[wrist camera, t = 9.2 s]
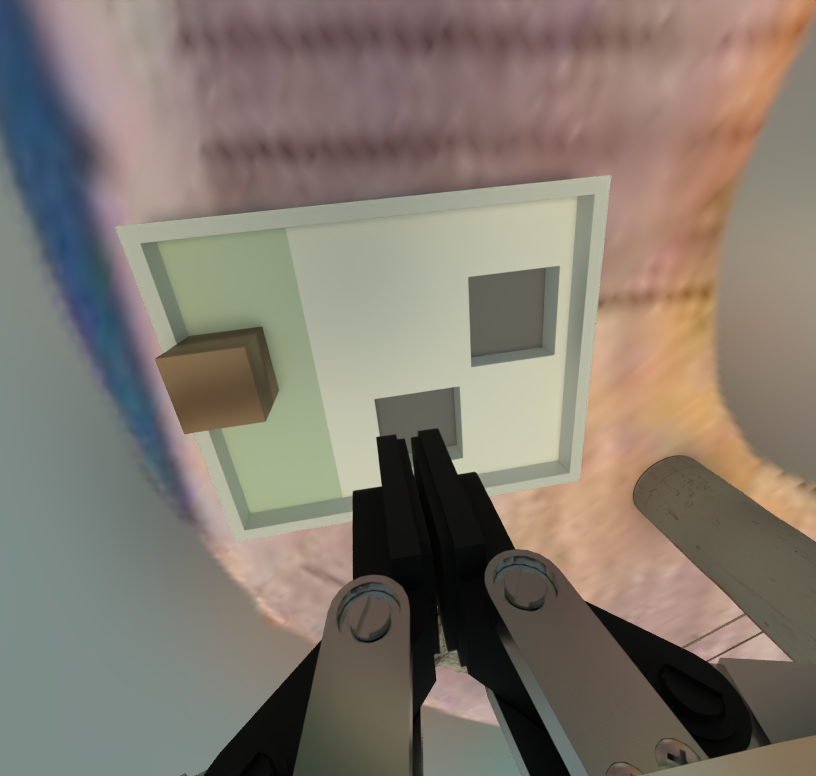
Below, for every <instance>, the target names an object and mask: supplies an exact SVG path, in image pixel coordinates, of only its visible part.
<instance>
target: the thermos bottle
mask: <svg viewBox="0 0 816 776" xmlns="http://www.w3.org/2000/svg"><path fill="white" fill-rule="evenodd" d="M633 496H634V503H635V506H636V507H637V508H638V510H639V511H640V512H641V513H642V514H643V515H644V516H645V517H646V518H647V519H648V520H649V521H650V522H652V523H653V524H654V525H655V526H656V527H657V528H658V529H659V530H660V531H661V532H662V533H663V534H664V535H665V536H666V537H667V538H668V539H669V540H670V541H671V542H672V543H673V544H674V545H675V546H676V547H677V548H678V549H679V550H680V551H681V552H682V553H683V554H684V555H685V556H686V557H687V558H688V559H689V560H690V561H691V562H692V563H693V564H694V565H695V566H696V567H697V568H698V569H700V570H701V571H702V572H703V573H704V574H705V575H706V576H707V577H708V578H709V579H710V580H711V581H713V582H714V583H715V584H716V585H717V586H718V587H719V588H720V589H721V590H722V591H723V592H724V593H725V594H726V595H727V596H728V597H729V598H730V599H731V600H732V601H733V602H734V603H735V604H736V605H737V606H738V607H739V608H740V609H741V610H742V611H743V612H744V613H745V614H746V615H747V616H748V617H749V618H750V619H751V620H752V621H753V622H754V623H755V624H756V625H757V626H758V627H759V628H760V629H761V630H762V631H763V632H764V633H765V634H766V635H767V636H768V637H769V638H770V639H771V640H772V641H773V642H774V643H775V644H776V645H777V646H778V647H779V648H780V649H781V650H782V651H783V652H784V653H785V654H786V655H787V656H788V657H789V658H790V659H791V660H792V661H793V662H805V663H816V542H815V541H813V540H812V539H811V538H809V537H808V536H806V535H805V534H803V533H802V532H800V531H798V530H797V529H795V528H794V527H792V526H791V525H789V524H787V523H786V522H784V521H782V520H781V519H779V518H778V517H776V516H775V515H773V514H772V513H770V512H769V511H767V510H766V509H765V508H763V507H762V506H760V505H759V504H758V503H756V502H755V501H754V500H752V499H751V498H750V497H748V496H747V495H745V494H744V493H742V492H741V491H740V490H738V489H737V488H735V487H734V486H732V485H731V484H729V483H728V482H726V481H725V480H723V479H722V478H720V477H719V476H717V475H716V474H714V473H713V472H711V471H710V470H709V469H707V468H706V467H704V466H703V465H701V464H700V463H698V462H697V461H695V460H693V459H691V458H689V457H685V456H675V457H670V458H667V459H664V460H662V461H660V462H658V463H656V464H655V465H653V466H652V467H650V468H649V469H648V470H647V471H646V472H645V473H644V474H643V475H642V476H641V478H640V479H639V481H638V482H637V484H636V487H635V489H634V495H633Z"/></svg>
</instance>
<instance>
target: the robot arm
mask: <svg viewBox="0 0 816 776" xmlns="http://www.w3.org/2000/svg"><path fill="white" fill-rule="evenodd" d="M376 441H377V450H378V459H379V467H380V476H381V484H382V486H380V487H374V488H367V489H361V490H355V491H353V495H352V509H353V581H351V582H349V583H348V584H347V585H345V586H344V587H343V588H342V589H340V590H339V592H338V593H337V595H336V596H335V597H334V599H333V600H332V602H331V605H330V608H329V610H328V613H327V618H326V623H325V627H324V632H323V637H322V640H321V641H320V642H319V643H318V644H317V645H316V647H315V648H314V649H313V650H312V651H311V652H310V653H309V654H308V655H307V657H306V658H305V659H304V660H303V661H302V662H301V663H300V664H299V666H298V667H297V668H296V669H295V670H294V671H293V672H292V674H290V676H289V677H288V678H287V679H286V680H285V681H284V682H283V683H282V684H281V686H280V687H279V688H278V689H277V690H276V691H275V692H274V693H273V695H272V696H271V697H270V698H269V699H268V700H267V701H266V702H265V703H264V704H263V706H262V707H261V708H260V709H259V710H258V711H257V712H256V713H255V715H254V716H253V717H252V718H251V719H250V720H249V721H248V722H247V723H246V725H245V726H244V727H243V728H242V729H241V730H240V731H239V732H238V733H237V735H236V736H235V737H234V738H233V739H232V740H231V741H230V742H229V743H228V745H227V746H226V747H225V748H224V749H223V750H222V751H221V752H220V754H219V755H218V756H217V758H216V759H215V760H214V762H213V763H212V764H211V766H210V767H209V768H208V770H206V771H204V772H202V773H200V774H198V775H196V776H424V774H423V773H424V772H423V723H422V704H423V702H424V700H425V699H426V697H427V695H428V694H429V692H430V690H431V689H432V687H433V685H434V684H435V682H436V671H435V660H434V655H435V654H440V640H439V627H438V614H437V607H438V611H439V616H440V620H441V624H442V629H443V633H444V638H445V642H446V647H447V650H448V652H450V651H455V650H457V653H458V657H459V662H460V666H461V667H465V666H466V667H467V671H468V674H469V675H471V676H472V677H473V678H475V679H476V680H478V681H479V682H480V683H482V684H483V685H484V686H485V689H486V693H487V696H488V699H489V701H490V704H491V706H492V708H493V711H494V713H495V715H496V718H497V720H498V722H499V725H500V727H501V730H502V732H503V734H504V737H505V739H506V741H507V743H508V746H509V748H510V751H511V753H512V755H513V758H514V760H515V762H516V765H517V767H518V769H519V771H520V774H521V776H816V663H805V662H787V661H770V660H752V659H734V658H720V659H719V661H718V663H717V664H713V663H708V662H706V661H705V660H703V659H701V658H700V657H698V656H697V655H695V654H693V653H691V652H689V651H687V650H685V649H683V648H681V647H679V646H677V645H675V644H673V643H671V642H669V641H667V640H665V639H662V638H660V637H658V636H656V635H654V634H652V633H650V632H648V631H646V630H644V629H642V628H640V627H638V626H636V625H634V624H632V623H630V622H627V621H625V620H623V619H621V618H619V617H617V616H615V615H613V614H611V613H609V612H607V611H605V610H603V609H601V608H599V607H597V606H594V605H592V604H590V603H588V602H586V601H584V600H583V599H582V597H581V596H580V595H579V594H578V592H577V591H576V590H575V589H574V587H573V586H572V585H571V583H570V582H569V581H568V580H567V578H566V577H565V576H564V575H563V573H562V572H561V571H560V570H559V569H558V568H557V567H556V566H555V565H554V564H553V563H552V562H551V561H550V560H548V559H547V558H545V557H543V556H542V555H540V554H537V553H534V552H531V551H528V550H518V549H515V548H514V546H513V544H512V542H511V540H510V538H509V536H508V534H507V532H506V530H505V528H504V526H503V524H502V522H501V520H500V518H499V516H498V514H497V512H496V510H495V508H494V506H493V504H492V502H491V500H490V498H489V496H488V494H487V492H486V490H485V488H484V486H483V484H482V482H481V480H480V478H479V476H478V474H477V473H476V472H469V473H463V474H457V472H456V469H455V467H454V465H453V462H452V460H451V457H450V455H449V453H448V450H447V448H446V445H445V443H444V441H443V438H442V436H441V434H440V431H439V429H438V428H434V429H427V430H421V431H418V436H416V437H411V449H412V459H413V470H414V474H413V470H412V466H411V462H410V458H409V453H408V449H407V445H406V441H405V438H403V439H397V436H396V434H393V435H386V436H379V437H376ZM181 776H187V775H186V774H183V775H181Z"/></svg>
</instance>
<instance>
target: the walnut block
mask: <svg viewBox="0 0 816 776" xmlns="http://www.w3.org/2000/svg"><path fill="white" fill-rule="evenodd" d="M155 361H156V363H157V366H158V368H159V371H160V373H161V376H162V379H163V381H164V384H165V386H166V389H167V391H168V394H169V396H170V399H171V401H172V404H173V406H174V409H175V412H176V414H177V417H178V419H179V422H180V424H181V427H182V429H183V432H184V434H189V433H195V432H202V431H209V430H215V429H222V428H228V427H235V426H241V425H248V424H254V423H261V422H266V420H267V418H268V416H269V413H270V411H271V409H272V406H273V404H274V402H275V399H276V397H277V395H278V392H279V388H278V384H277V381H276V377H275V373H274V369H273V365H272V361H271V358H270V354H269V350H268V346H267V342H266V339H265V335H264V331H263V327H254V328H247V329H239V330H231V331H224V332H216V333H208V334H201V335H193V336H188V337H187V338H185V339H184V340H182V341H181V342H179V343H178V344H176V345H175V346H173V347H172V348H170V349H169V350H167V351H166V352H165V353H163V354H162V355H160V356H159V357H157V358H156V359H155Z"/></svg>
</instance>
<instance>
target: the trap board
mask: <svg viewBox="0 0 816 776" xmlns="http://www.w3.org/2000/svg"><path fill="white" fill-rule="evenodd" d="M610 182H611V175H606V176H597V177H587V178H577V179H568V180H558V181H548V182H539V183H529V184H519V185H510V186H500V187H490V188H481V189H471V190H461V191H452V192H442V193H433V194H423V195H413V196H404V197H394V198H384V199H375V200H365V201H355V202H346V203H336V204H326V205H317V206H307V207H297V208H288V209H278V210H268V211H259V212H249V213H240V214H230V215H220V216H211V217H201V218H191V219H182V220H172V221H162V222H153V223H143V224H133V225H124V226H115V228H116V231H117V234H118V236H119V239H120V242H121V244H122V247H123V249H124V252H125V255H126V257H127V260H128V262H129V265H130V268H131V270H132V273H133V276H134V278H135V281H136V283H137V286H138V289H139V291H140V294H141V296H142V299H143V302H144V304H145V307H146V310H147V312H148V315H149V317H150V320H151V323H152V325H153V328H154V331H155V333H156V336H157V338H158V341H159V344H160V346H161V349H162V351H163V353H165V352H166V351H167V350H169V349H170V348H172V347H173V346H175V345H176V344H178V343H179V342H181V341H182V340H184V339H185V338H187V337H188V336H193V335H201V334H208V333H216V332H224V331H231V330H239V329H247V328H254V327H263V331H264V335H265V339H266V342H267V346H268V350H269V354H270V358H271V361H272V365H273V369H274V373H275V377H276V381H277V384H278V388H279V392H278V395H277V397H276V399H275V402H274V404H273V406H272V409H271V411H270V413H269V416H268V418H267V420H266V422H261V423H254V424H248V425H241V426H235V427H228V428H222V429H215V430H209V431H202V432H195V433H194V435H195V438H196V440H197V443H198V446H199V448H200V451H201V454H202V456H203V459H204V461H205V464H206V467H207V469H208V472H209V474H210V477H211V480H212V482H213V485H214V488H215V490H216V493H217V495H218V498H219V501H220V503H221V506H222V509H223V511H224V514H225V516H226V519H227V522H228V524H229V527H230V529H231V532H232V535H233V537H234V540H235V542H238V541H244V540H249V539H255V538H260V537H266V536H272V535H277V534H283V533H288V532H294V531H300V530H305V529H311V528H316V527H322V526H327V525H333V524H339V523H344V522H350V521H353V509H352V495H353V491H355V490H361V489H367V488H374V487H380V486H382V484H381V476H380V467H379V459H378V450H377V441H376V437H379V436H386V435H393V434H396V436H397V439H403V438H405V441H406V445H407V449H408V453H409V458H410V462H411V466H412V470H413V459H412V449H411V437H416V436H418V431H421V430H427V429H434V428H438V429H439V431H440V434H441V436H442V438H443V441H444V443H445V445H446V448H447V450H448V453H449V455H450V457H451V460H452V462H453V465H454V467H455V469H456V472H457V474H463V473H469V472H476V473H477V474H478V476H479V478H480V480H481V482H482V484H483V486H484V488H485V490H486V492H487V494H488V496H489V497H490V496H495V495H501V494H506V493H512V492H518V491H523V490H529V489H534V488H540V487H545V486H551V485H557V484H562V483H568V482H573V481H579V480H580V471H581V462H582V452H583V442H584V433H585V423H586V414H587V404H588V394H589V385H590V375H591V365H592V356H593V346H594V336H595V327H596V317H597V307H598V298H599V288H600V279H601V269H602V259H603V250H604V240H605V230H606V221H607V211H608V201H609V192H610ZM413 474H414V470H413Z"/></svg>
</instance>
